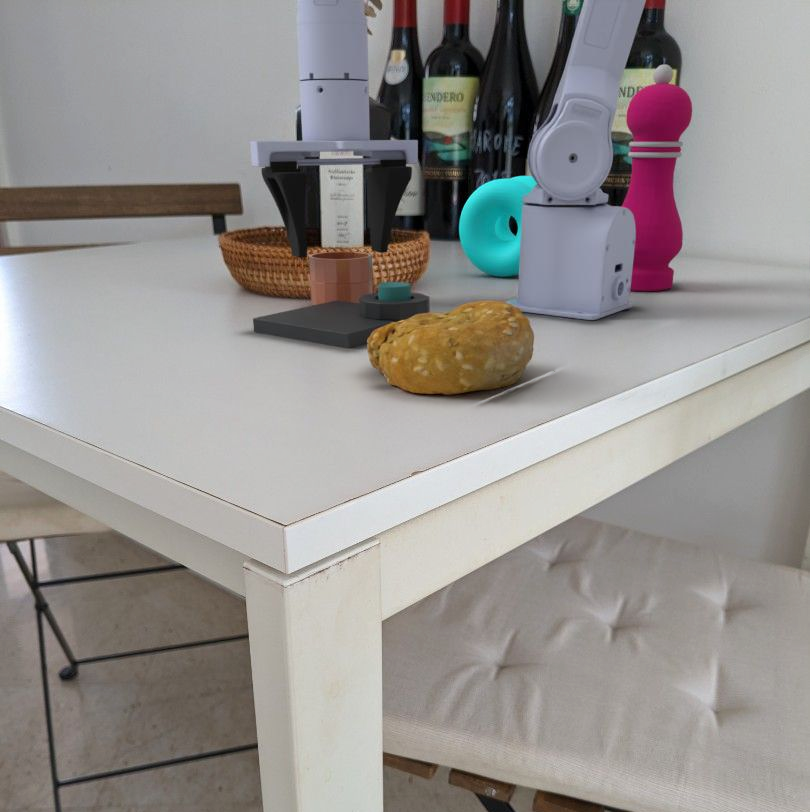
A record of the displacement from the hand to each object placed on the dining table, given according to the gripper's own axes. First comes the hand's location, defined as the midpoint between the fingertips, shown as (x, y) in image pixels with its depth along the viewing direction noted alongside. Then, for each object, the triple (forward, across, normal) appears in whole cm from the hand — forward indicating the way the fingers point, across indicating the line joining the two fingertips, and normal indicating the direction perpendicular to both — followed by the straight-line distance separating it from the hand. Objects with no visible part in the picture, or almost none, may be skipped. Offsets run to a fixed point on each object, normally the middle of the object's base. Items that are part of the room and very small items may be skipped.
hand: (340, 254), depth 77 cm
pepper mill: (+5, +32, -3) cm, 32 cm away
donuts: (+5, +25, +11) cm, 28 cm away
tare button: (+2, 0, -11) cm, 11 cm away
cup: (+5, 0, 0) cm, 5 cm away
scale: (+5, -4, -10) cm, 12 cm away
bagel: (+5, -3, -27) cm, 28 cm away
